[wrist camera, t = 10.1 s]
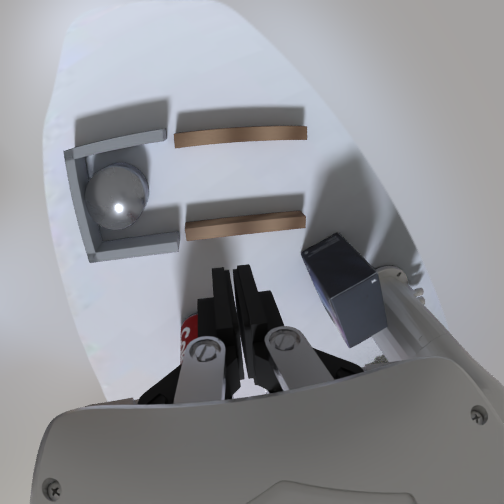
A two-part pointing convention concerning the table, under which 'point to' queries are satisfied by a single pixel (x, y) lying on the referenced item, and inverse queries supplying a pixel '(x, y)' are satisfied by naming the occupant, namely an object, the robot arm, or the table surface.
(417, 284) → the table surface
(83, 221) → the grey u-shaped frame
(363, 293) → the small box
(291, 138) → the walnut slot
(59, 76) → the table surface
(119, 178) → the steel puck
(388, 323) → the robot arm
